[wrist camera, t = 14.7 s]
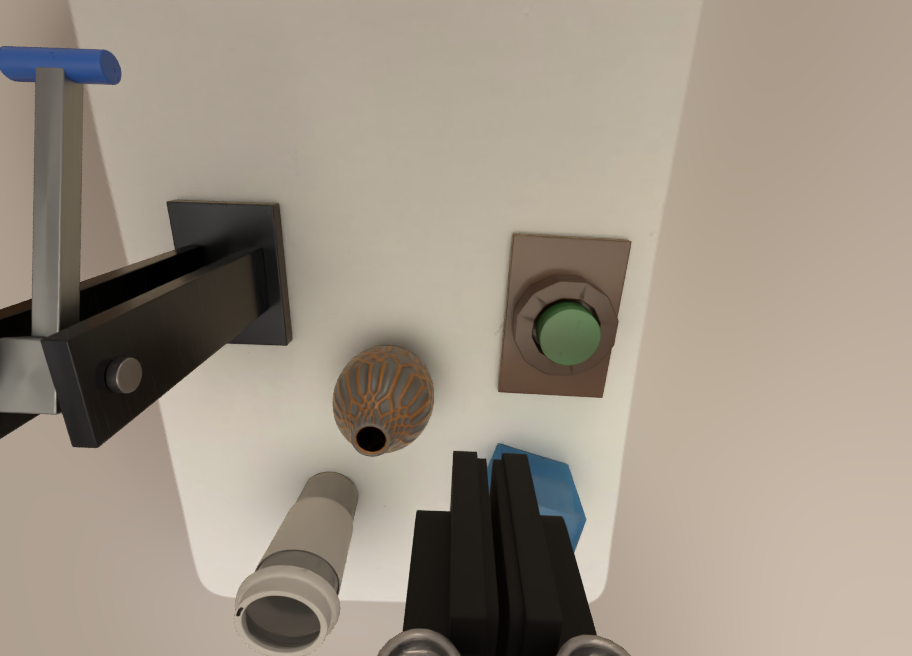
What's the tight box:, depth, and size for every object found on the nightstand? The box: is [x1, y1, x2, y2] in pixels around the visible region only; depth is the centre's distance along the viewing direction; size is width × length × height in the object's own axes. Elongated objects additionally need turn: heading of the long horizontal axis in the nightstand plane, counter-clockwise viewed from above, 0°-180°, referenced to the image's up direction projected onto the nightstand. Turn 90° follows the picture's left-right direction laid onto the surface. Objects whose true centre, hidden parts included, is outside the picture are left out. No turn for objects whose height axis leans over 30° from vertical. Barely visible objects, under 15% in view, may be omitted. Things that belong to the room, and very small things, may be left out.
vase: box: [333, 346, 434, 457], centre depth 32 cm, size 7×7×9 cm
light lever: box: [0, 46, 121, 415], centre depth 18 cm, size 14×4×2 cm, turn 178°
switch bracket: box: [0, 200, 292, 448], centre depth 25 cm, size 10×7×18 cm
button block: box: [498, 233, 631, 398], centre depth 33 cm, size 12×8×2 cm, turn 177°
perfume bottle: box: [487, 443, 586, 552], centre depth 34 cm, size 6×6×12 cm
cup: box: [234, 472, 358, 656], centre depth 35 cm, size 7×7×12 cm
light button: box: [536, 301, 601, 365], centre depth 32 cm, size 4×4×2 cm
